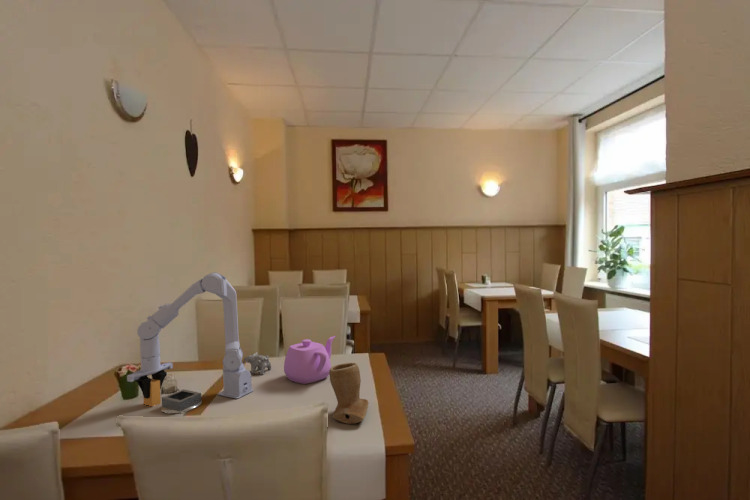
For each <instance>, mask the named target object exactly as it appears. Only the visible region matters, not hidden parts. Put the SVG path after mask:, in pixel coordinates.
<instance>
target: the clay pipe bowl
mask: <svg viewBox="0 0 750 500" xmlns="http://www.w3.org/2000/svg"><path fill="white" fill-rule="evenodd" d="M328 376H329V381H330V384H331V387H332V389H333V392H334V395H335V397H336V401H337V405H336V407H335V410H334V412H333V415H332V418H333V419H335V420H337V421H338V422H340V423H344V424H350V425H352V424H354V425H355V424H357V423H361V422H363V421H364V419H365V418H366V415H367V412H368V408H369V399H366V398H360V393H361V392H360V389H361V381H362V379H361V372H360V367H359V365H358V364H357V363H355V362H346V363H340V364H336V365H334V366H331V368H330V370H329V375H328Z"/></svg>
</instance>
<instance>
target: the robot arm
mask: <svg viewBox="0 0 750 500" xmlns="http://www.w3.org/2000/svg"><path fill="white" fill-rule="evenodd" d="M205 292H208V293H210V294H214V295H216V296H218V297H219V298H221V300H222V304H223V305H222V306H223V322H224V323H223V325H224V341H225V343H224V345H225V346H224V357H223V359H222V366H223V367H222V379H223V382H222V383H223V385H222V386H223V390H222V391H220V392H218V393H217V396H221V397H227V398H231V399H239V398H241V397H244V396H246V395H248V394H249V393H252V392H253V391H254V388H252V386H253V384H252V373H251V371H250V370H248V369H246V367H245V363H244V364H243V357H244V352H243V349H241V344H240V337H239V336H240V335H239V317H238V299H237V298H238V296H237V291H236V289H235V288H234V287H233V285H232V284H231V283H230V282H229V280H228V279H227V278H226V276H224V275H223V274H221V273H219V272H210V273H208V274H206V275H204V276H203V278H201V279H199V280H197V281H196V282H195V283H192V284H191V285H190V286H189V287H187V288H186V290H185V291H183V293H181V294H180V296H178V297H177V298H176V299H175V300H174V301H173V302H172V303H164V304H160V306H158V308H157V309H158V310H156V311H155V312H154V313H153V314H152V315H149V316H147V317H146V319H147V320H146V321H143V322H141V323H140V325H139V326H138V328H137V329H136V331H137V336H138V337H139V341H140V342H139V351H140V354H139V355H140V369H138V370H137V371H135V372H132V373H130V374H128V375H126V381H127V382H130V383H133V382H134V381H135V382H136V384H137V385H138V386H139V388H140V390H141V392H142V395H143V396H144V398H147V399H148V398H150V383H151V379H156V380H160V391H161V390H162V386H163V383H164V381H165V379H166V377H167V374H168V373H167V371H166V370H171V369H173V368H174V364H173V362H171V361H168V362H164V363H161V344H160V343H161V342H160V332H161V331H162V329H164V328H166V326H168V325H169V324H171V323H172V322H173V320H175V319H176V318H177V317H179V311H180V309H181V308H182V307H183V306H185V305H186V304H187V303H188V302H189V301H191V300H192V299H193V298H194V297H195V296H197V295H200V294H204V293H205ZM149 376H151V378H150V377H149ZM144 398H143V399H144Z"/></svg>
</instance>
